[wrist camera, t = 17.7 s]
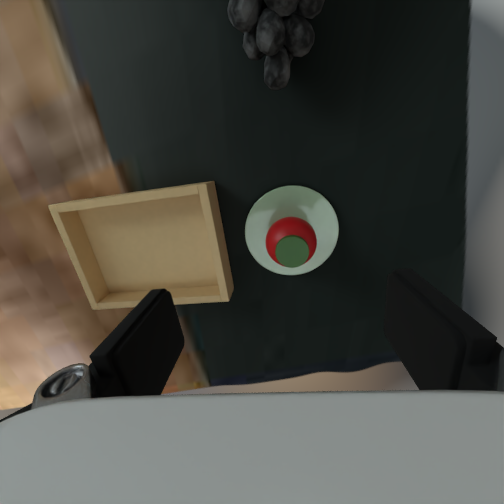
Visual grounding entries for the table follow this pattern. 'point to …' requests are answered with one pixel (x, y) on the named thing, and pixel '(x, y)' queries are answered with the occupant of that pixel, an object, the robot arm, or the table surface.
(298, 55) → the fruit
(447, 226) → the table surface
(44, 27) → the table surface
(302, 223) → the strawberry
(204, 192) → the tray
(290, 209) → the coaster
